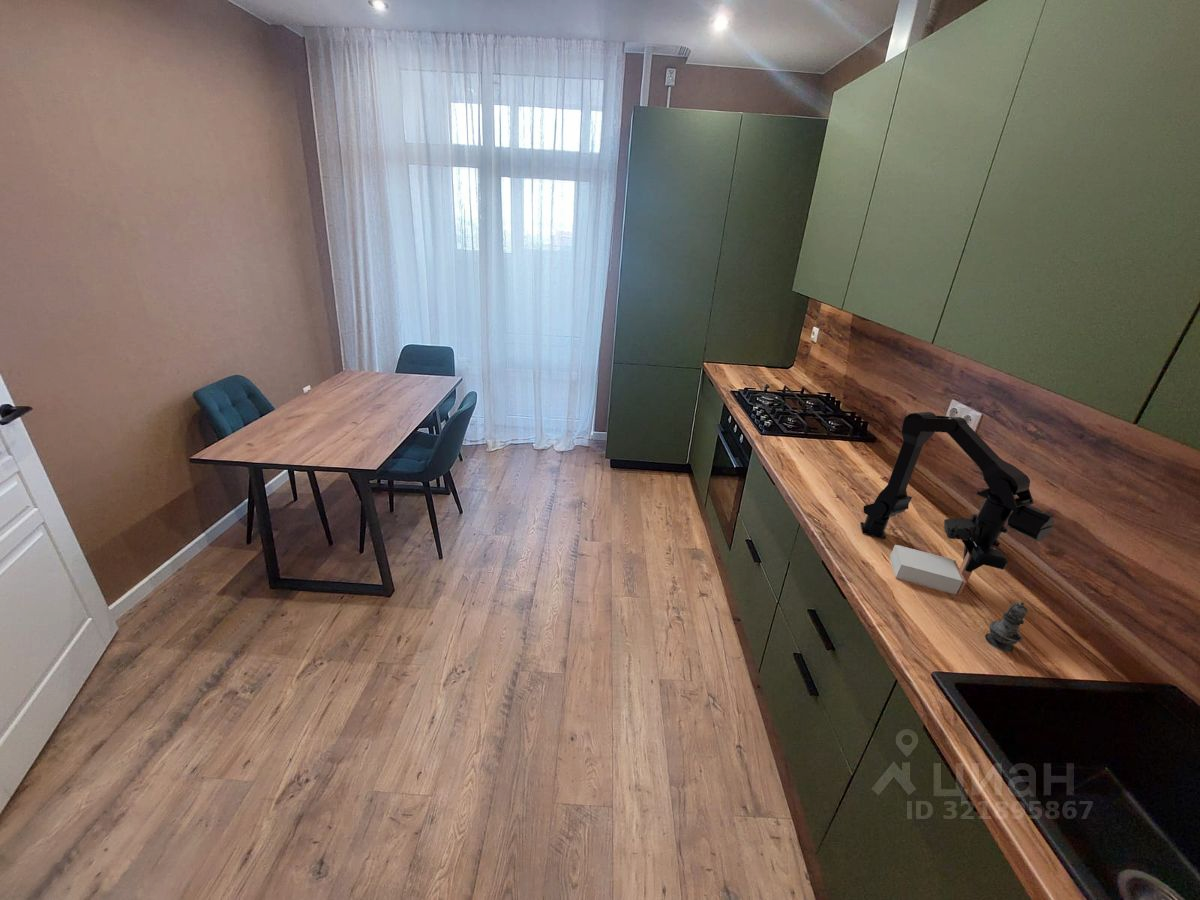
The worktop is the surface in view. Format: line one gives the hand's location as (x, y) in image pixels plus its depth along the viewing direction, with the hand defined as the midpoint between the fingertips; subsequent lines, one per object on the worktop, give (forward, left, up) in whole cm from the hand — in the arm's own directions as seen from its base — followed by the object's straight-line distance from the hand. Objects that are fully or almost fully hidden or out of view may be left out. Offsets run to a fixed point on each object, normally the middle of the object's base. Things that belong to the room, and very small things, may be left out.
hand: (966, 568), depth 125 cm
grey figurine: (+20, +3, -6) cm, 21 cm away
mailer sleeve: (0, -9, -6) cm, 10 cm away
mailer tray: (0, -7, -5) cm, 9 cm away
